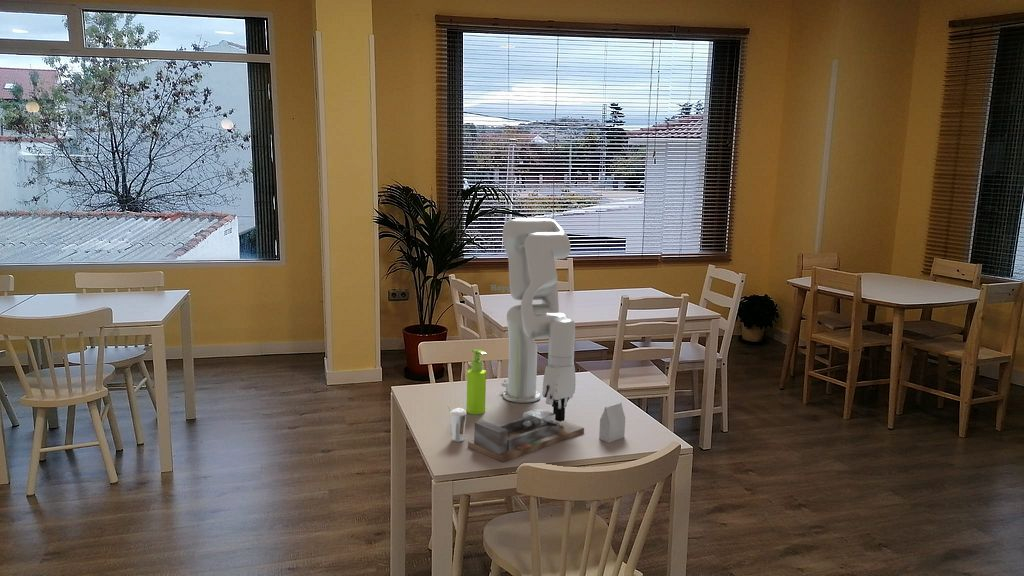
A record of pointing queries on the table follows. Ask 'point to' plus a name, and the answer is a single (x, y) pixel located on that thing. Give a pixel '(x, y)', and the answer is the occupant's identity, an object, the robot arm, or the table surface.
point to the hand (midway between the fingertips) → (558, 419)
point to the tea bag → (612, 423)
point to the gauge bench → (518, 438)
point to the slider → (537, 419)
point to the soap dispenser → (476, 385)
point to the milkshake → (458, 424)
